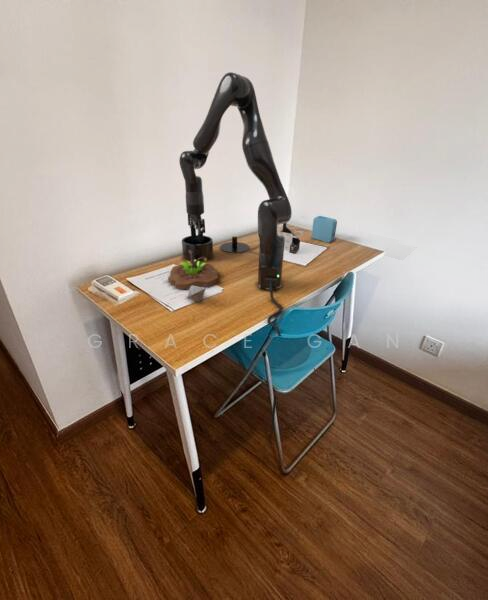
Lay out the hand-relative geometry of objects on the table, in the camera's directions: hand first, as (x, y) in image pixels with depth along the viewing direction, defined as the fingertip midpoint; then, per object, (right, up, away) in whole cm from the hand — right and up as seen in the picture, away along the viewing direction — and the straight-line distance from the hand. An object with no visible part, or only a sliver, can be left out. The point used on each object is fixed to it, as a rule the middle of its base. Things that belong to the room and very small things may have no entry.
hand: (197, 238), depth 145 cm
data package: (+63, +6, +33) cm, 72 cm away
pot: (0, -8, +5) cm, 9 cm away
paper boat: (+7, -28, -30) cm, 41 cm away
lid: (+16, -2, +15) cm, 22 cm away
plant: (+1, -19, -14) cm, 23 cm away
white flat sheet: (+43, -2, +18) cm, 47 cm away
